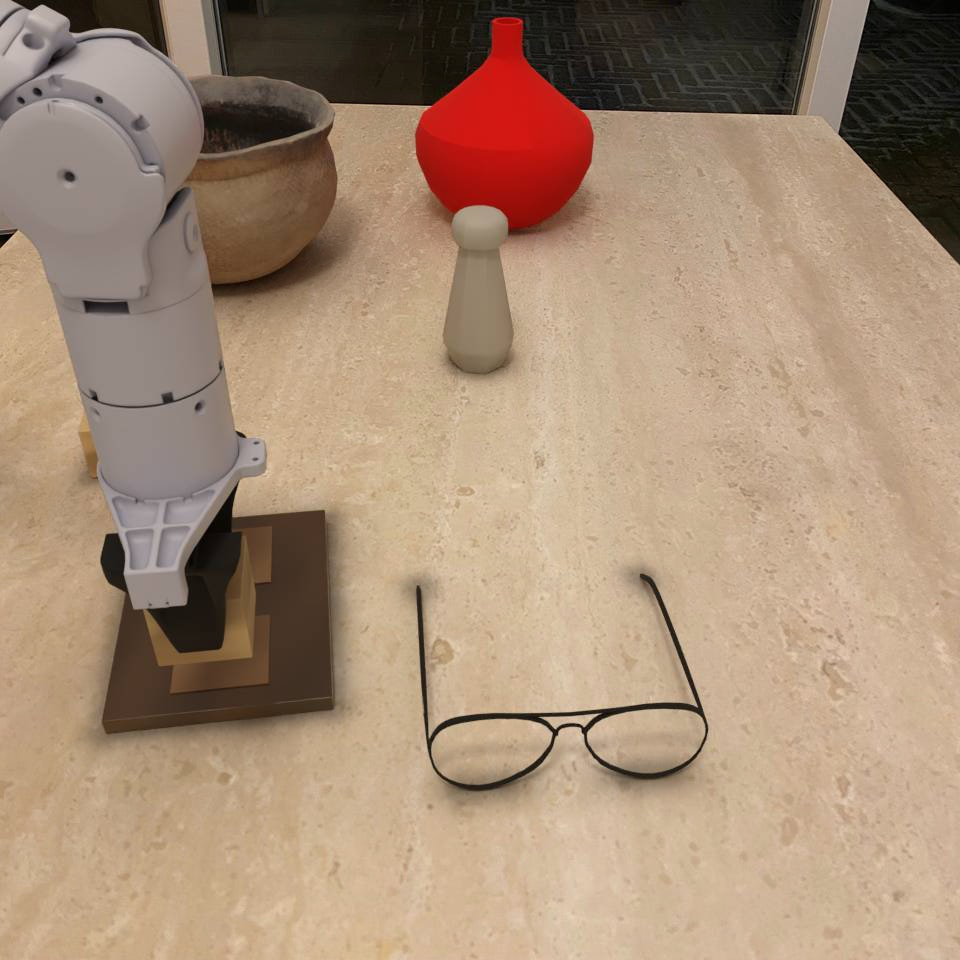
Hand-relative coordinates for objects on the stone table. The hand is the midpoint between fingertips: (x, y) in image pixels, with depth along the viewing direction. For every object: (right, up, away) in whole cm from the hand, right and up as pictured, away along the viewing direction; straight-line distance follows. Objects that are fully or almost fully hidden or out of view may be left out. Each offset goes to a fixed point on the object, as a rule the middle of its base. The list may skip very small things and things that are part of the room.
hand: (204, 608), depth 49 cm
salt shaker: (+13, +16, +35) cm, 40 cm away
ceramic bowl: (-11, +27, +49) cm, 57 cm away
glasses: (+17, -5, +8) cm, 20 cm away
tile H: (0, -1, +1) cm, 1 cm away
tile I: (-12, +8, +24) cm, 28 cm away
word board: (-2, -2, +11) cm, 12 cm away
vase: (+16, +35, +59) cm, 70 cm away
